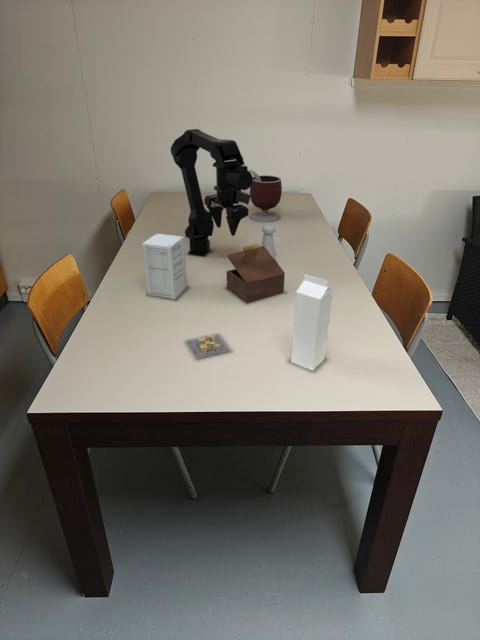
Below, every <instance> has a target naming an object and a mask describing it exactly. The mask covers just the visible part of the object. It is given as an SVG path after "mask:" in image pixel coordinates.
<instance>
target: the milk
mask: <svg viewBox="0 0 480 640" xmlns="http://www.w3.org/2000/svg"><path fill="white" fill-rule="evenodd" d="M333 294H334V289H332V288H331V287H329V280H326V279H323V278H319V277H317V276H312V275H310V274H306V273H305V274H304V275H303V281H302V282H301V284H300V285H299V287H298V289H297V290H296V293H295V306H294V318H293V331H292V343H291V355H290V362H291V363H293V364H295V365H298V366H299V367H302V368H304V369H307V370H309V371H312V372H313V371H314V370H315V369H316V368H317V367H318V366H319V365H321V363H322V362H323V361H324V360H325V358H326V350H327V342H328V335H329V334H328V333H329V327H330V317H331V309H332V301H333Z"/></svg>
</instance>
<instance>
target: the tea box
mask: <svg viewBox="0 0 480 640" xmlns="http://www.w3.org/2000/svg"><path fill="white" fill-rule="evenodd" d="M285 275H286V274H284V275H281V276H277V277H273V278H269V279H266V280H262V281H258V282H255V283H251V284H246V283H245V281H244V280H243V279H242V277H241V276H240V274H239V273H238V271H237V270H236V269H235V268H233V269H229V270H226V289H227V290H228V291H229V292H231V293H232V294H234V295H235V296H236V297H237V298H239V299H240V300H241V301H243V302H244V303H245V304H250V303H253V302H257V301H260V300H263V299H267V298H271V297H273V296H277V295H280V294H283V293H284V292H285V277H286V276H285Z"/></svg>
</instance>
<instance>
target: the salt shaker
mask: <svg viewBox="0 0 480 640" xmlns="http://www.w3.org/2000/svg"><path fill="white" fill-rule="evenodd" d="M275 232H276V227H275V226H274V225H272V224H266V225H265V224H264V225H263V226H262V233H263V235H262V236H263V237H262V241H261V245H260V247H262V246H264V247H265V248H266V249H267V250H268V252H269V253H270V254H271V256H272V257H273V258H274V259H275V260H276V257H277V254H276V246H275V240H274V234H275Z"/></svg>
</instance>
